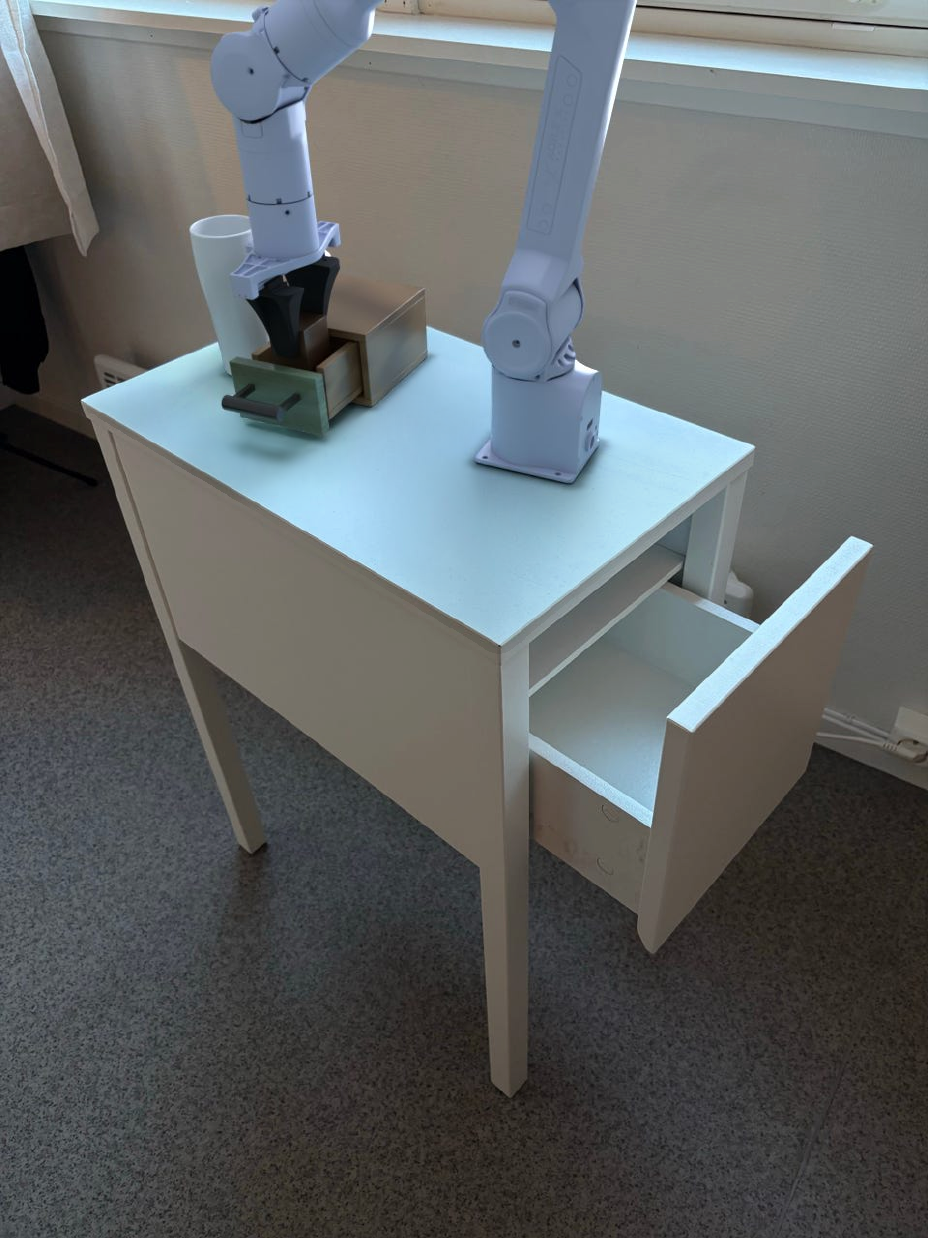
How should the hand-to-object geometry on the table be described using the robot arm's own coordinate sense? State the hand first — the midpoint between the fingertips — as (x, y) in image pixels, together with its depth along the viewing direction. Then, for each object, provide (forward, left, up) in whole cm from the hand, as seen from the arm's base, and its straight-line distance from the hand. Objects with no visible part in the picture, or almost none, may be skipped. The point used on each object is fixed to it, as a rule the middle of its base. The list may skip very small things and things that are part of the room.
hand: (301, 346), depth 87 cm
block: (0, 0, -1) cm, 1 cm away
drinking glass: (+11, -5, -7) cm, 14 cm away
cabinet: (0, -9, -7) cm, 12 cm away
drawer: (0, +1, -6) cm, 6 cm away
